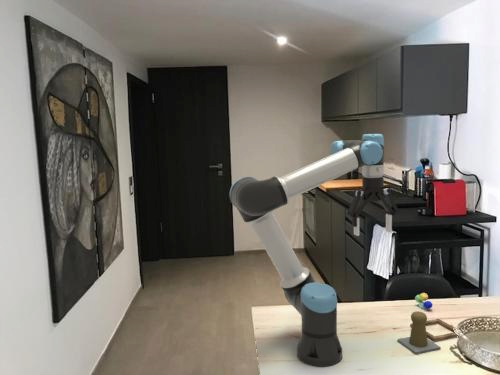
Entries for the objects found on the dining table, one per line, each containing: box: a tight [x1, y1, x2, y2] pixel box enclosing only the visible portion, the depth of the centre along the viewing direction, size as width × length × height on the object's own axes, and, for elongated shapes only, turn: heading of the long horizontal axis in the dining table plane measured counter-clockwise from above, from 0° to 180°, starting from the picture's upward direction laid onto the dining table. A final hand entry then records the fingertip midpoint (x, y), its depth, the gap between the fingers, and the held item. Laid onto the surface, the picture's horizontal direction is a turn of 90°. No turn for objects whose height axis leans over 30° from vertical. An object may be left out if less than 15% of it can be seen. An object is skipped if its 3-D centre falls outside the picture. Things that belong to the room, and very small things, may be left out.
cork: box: [409, 311, 428, 347], centre depth 152 cm, size 6×6×11 cm
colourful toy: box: [414, 292, 433, 310], centre depth 184 cm, size 8×3×6 cm, turn 20°
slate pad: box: [396, 336, 442, 355], centre depth 153 cm, size 10×10×1 cm
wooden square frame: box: [409, 318, 458, 343], centre depth 163 cm, size 13×13×1 cm
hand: (372, 233), depth 163 cm, fingers open, 13 cm apart
